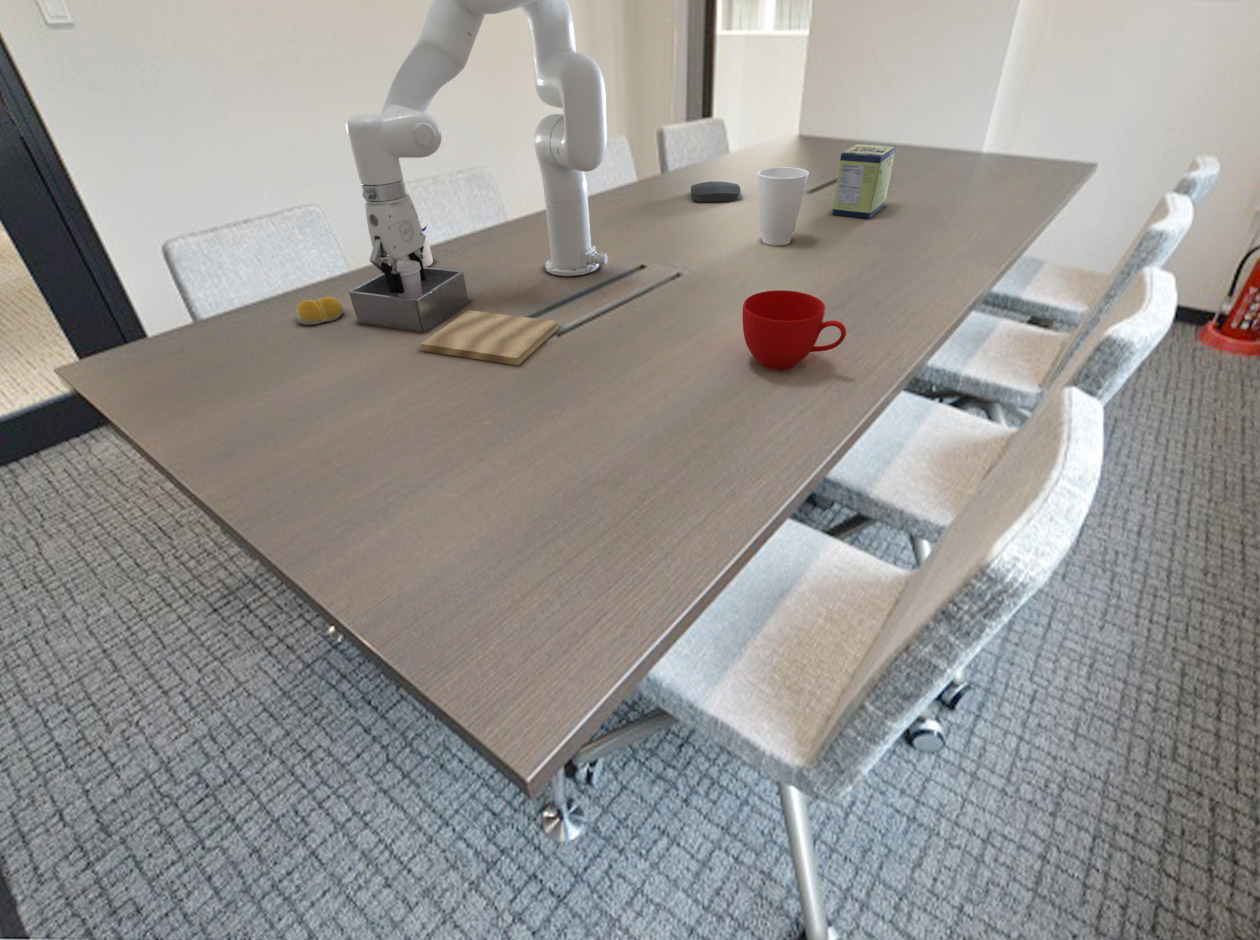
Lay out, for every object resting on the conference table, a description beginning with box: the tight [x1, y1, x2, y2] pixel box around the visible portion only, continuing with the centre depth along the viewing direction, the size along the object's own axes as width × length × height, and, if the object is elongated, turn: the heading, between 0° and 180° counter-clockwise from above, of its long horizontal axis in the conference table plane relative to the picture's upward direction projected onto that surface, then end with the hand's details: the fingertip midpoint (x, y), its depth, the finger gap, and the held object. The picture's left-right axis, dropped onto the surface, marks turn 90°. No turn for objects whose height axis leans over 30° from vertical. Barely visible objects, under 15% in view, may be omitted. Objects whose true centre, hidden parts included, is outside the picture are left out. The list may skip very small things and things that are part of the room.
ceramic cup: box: [742, 289, 847, 371], centre depth 105 cm, size 13×17×10 cm
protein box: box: [832, 143, 896, 220], centre depth 175 cm, size 10×16×16 cm
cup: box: [757, 166, 810, 246], centre depth 155 cm, size 12×12×16 cm
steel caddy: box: [348, 267, 470, 333], centre depth 130 cm, size 16×16×6 cm
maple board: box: [420, 309, 560, 366], centre depth 119 cm, size 20×16×2 cm
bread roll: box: [294, 296, 344, 326], centre depth 130 cm, size 8×9×4 cm
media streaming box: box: [690, 181, 742, 203], centre depth 196 cm, size 15×15×3 cm
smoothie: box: [389, 257, 422, 299], centre depth 127 cm, size 6×6×14 cm
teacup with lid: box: [397, 220, 434, 268], centre depth 153 cm, size 12×9×12 cm
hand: (408, 285), depth 128 cm, fingers closed on smoothie, 6 cm apart
